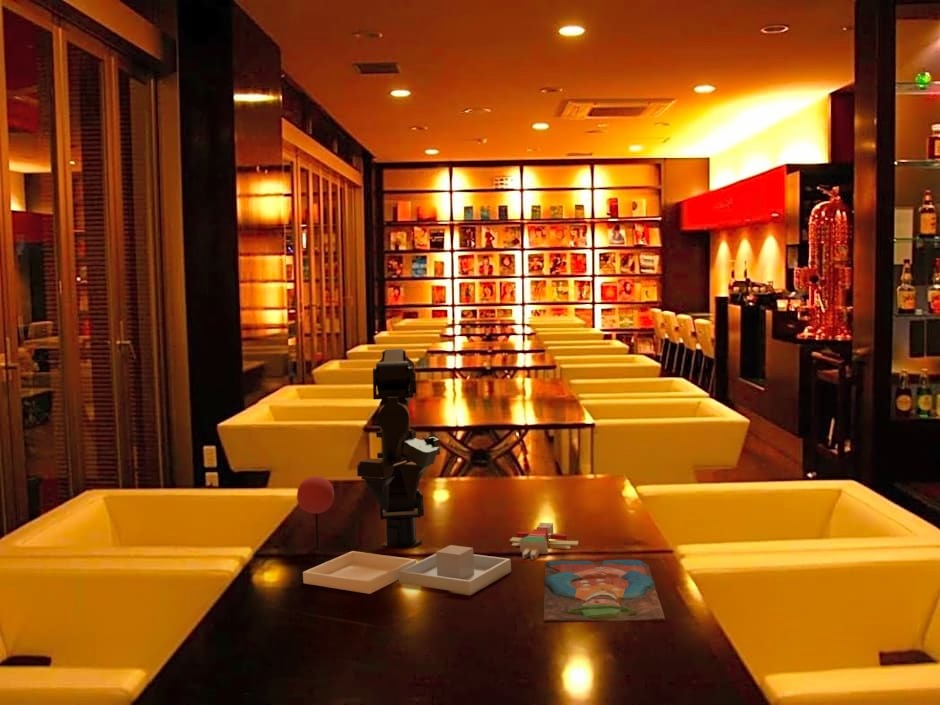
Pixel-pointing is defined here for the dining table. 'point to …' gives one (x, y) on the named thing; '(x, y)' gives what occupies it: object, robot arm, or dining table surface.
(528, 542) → the toy
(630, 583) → the plaque
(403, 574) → the bin
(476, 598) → the dining table surface
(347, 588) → the bin
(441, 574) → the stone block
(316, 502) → the lollipop
